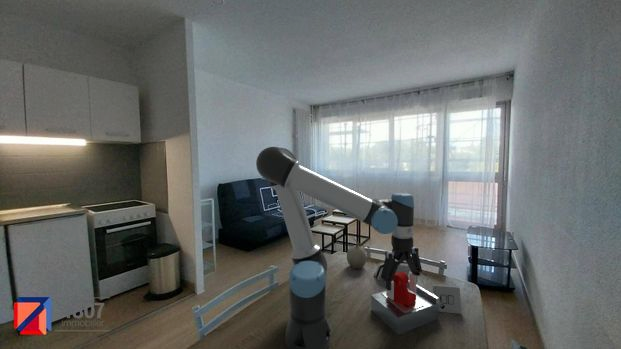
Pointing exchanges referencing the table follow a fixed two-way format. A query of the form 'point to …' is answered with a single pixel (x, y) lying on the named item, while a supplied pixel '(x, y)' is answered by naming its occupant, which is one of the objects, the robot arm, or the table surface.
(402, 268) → the grey curved slab
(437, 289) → the electrical switch
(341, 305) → the table surface
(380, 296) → the grey ridged box
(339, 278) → the table surface
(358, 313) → the table surface
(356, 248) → the fruit
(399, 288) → the bracket
